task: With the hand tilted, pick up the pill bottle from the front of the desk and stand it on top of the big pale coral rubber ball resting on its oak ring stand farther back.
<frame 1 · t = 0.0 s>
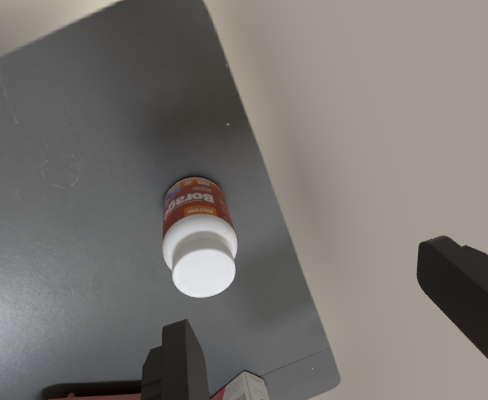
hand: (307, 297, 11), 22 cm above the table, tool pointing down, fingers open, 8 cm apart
ink box: (234, 388, 50), on the table
pill bottle: (194, 201, 33), on the table
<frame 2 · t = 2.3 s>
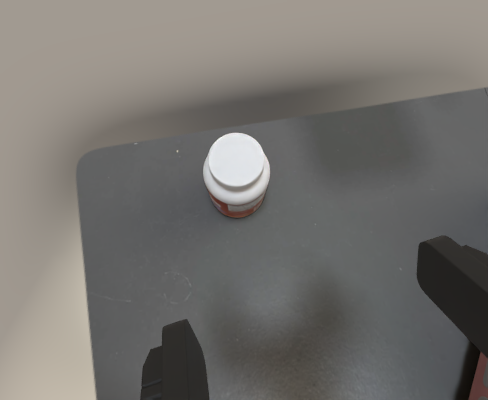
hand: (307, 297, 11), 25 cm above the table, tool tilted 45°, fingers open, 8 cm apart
pill bottle: (237, 192, 37), on the table
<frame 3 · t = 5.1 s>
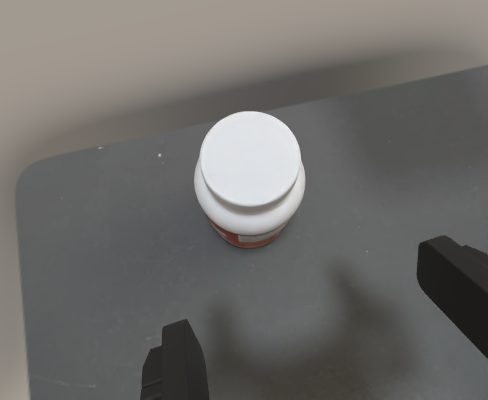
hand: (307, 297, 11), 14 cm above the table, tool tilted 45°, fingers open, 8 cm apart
pill bottle: (249, 210, 26), on the table
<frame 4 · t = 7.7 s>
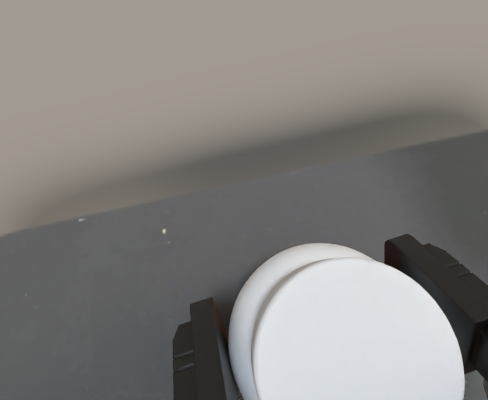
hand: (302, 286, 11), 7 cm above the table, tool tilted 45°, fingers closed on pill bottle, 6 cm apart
pill bottle: (291, 315, 18), on the table, touching gripper
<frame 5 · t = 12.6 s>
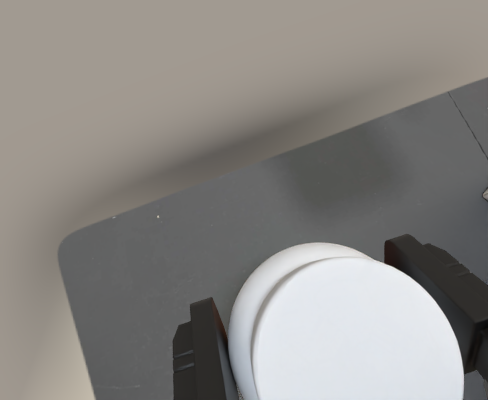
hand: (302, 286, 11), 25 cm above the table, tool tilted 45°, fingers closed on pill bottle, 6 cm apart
pill bottle: (291, 315, 18), point 17 cm above the table, touching gripper
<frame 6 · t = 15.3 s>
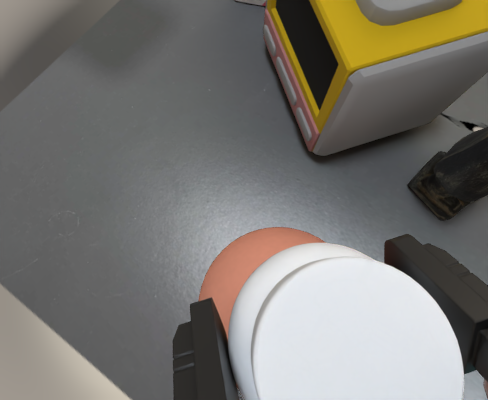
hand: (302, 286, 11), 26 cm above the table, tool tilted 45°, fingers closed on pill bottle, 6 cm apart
ball: (272, 302, 36), on the table
alarm clock: (337, 84, 43), on the table
statue: (438, 186, 39), on the table
pill bottle: (291, 315, 18), point 19 cm above the table, touching gripper
when the fingers open (22 cm above the table, at t = 17.7 s): pill bottle stays where it is, resting on ball.
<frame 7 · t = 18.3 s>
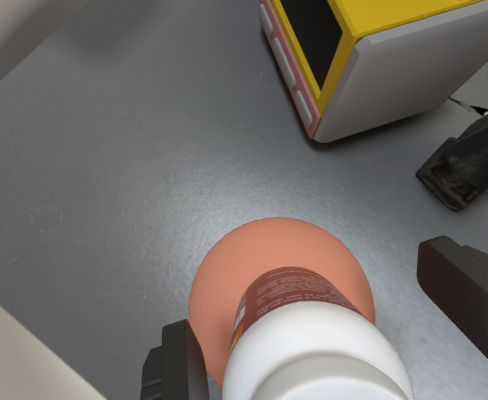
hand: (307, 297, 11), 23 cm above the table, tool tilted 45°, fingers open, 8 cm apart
ball: (271, 301, 33), on the table
alarm clock: (338, 69, 40), on the table
statue: (449, 175, 36), on the table
pill bottle: (289, 317, 18), point 15 cm above the table, touching ball
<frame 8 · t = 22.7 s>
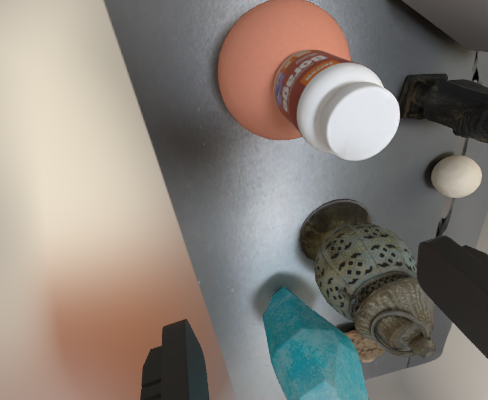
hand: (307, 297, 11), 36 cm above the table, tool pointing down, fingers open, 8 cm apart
ball: (263, 65, 42), on the table
rock: (357, 333, 74), on the table
lantern: (332, 231, 57), on the table
statue: (417, 94, 48), on the table
cream sphere: (440, 169, 56), on the table
crystal: (281, 288, 62), on the table
pill bottle: (304, 86, 29), point 15 cm above the table, touching ball
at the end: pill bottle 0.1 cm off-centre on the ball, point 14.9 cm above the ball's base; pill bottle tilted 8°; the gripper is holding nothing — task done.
